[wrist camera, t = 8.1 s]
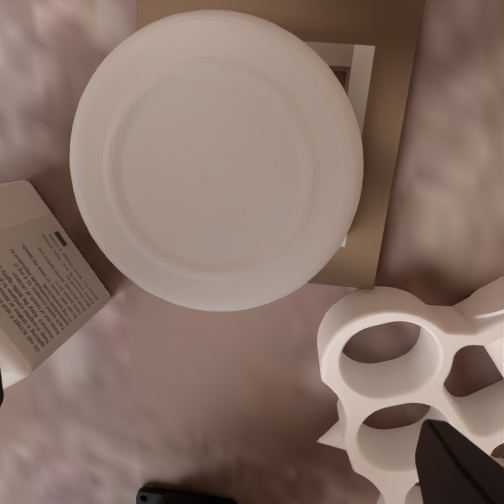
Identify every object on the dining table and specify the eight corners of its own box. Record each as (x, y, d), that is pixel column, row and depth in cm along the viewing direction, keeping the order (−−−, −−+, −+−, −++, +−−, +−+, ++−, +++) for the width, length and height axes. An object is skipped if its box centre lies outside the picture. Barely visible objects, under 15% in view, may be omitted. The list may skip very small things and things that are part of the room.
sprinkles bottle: (246, 211, 20) (155, 361, 7) (200, 123, 19) (-4, 106, 6) (333, 168, 19) (419, 249, 6) (290, 73, 18) (280, -79, 5)
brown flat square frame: (370, 283, 21) (379, 300, 19) (143, 259, 22) (127, 273, 20) (420, -4, 17) (438, -22, 15) (143, -19, 18) (123, -39, 16)
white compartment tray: (652, 464, 23) (415, 555, 26) (505, 199, 20) (256, 343, 23) (711, 518, 20) (431, 614, 23) (547, 212, 16) (250, 377, 20)
